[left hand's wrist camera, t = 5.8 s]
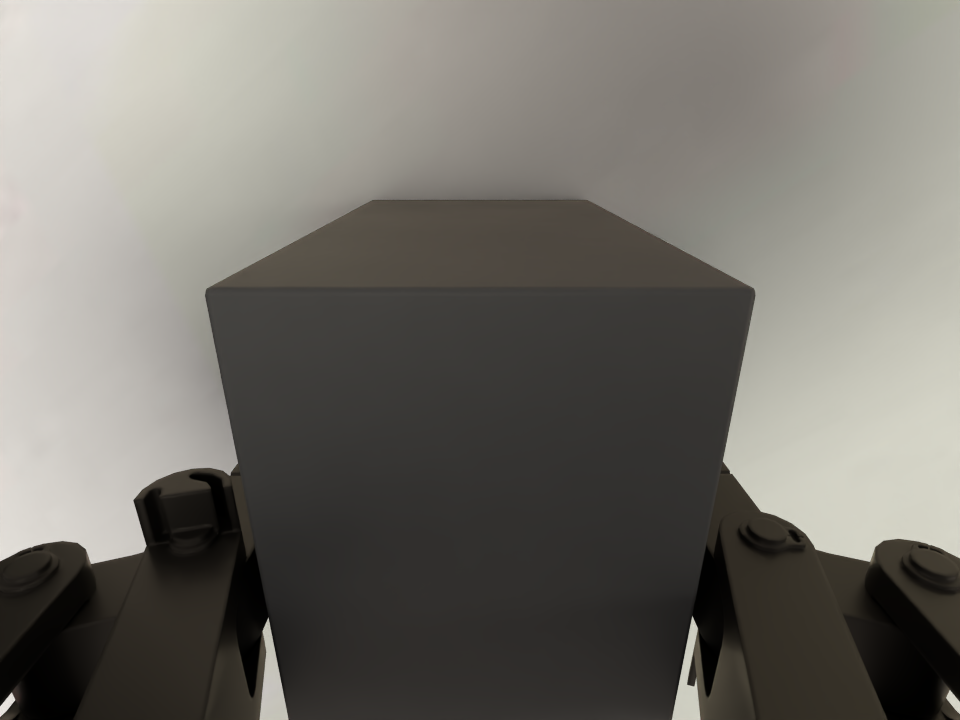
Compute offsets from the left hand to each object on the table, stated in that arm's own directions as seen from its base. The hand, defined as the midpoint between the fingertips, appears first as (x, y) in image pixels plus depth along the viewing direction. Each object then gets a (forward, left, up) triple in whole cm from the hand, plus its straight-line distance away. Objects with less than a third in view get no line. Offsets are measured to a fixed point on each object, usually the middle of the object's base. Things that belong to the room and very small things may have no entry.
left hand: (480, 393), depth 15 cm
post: (+20, +9, -1) cm, 22 cm away
